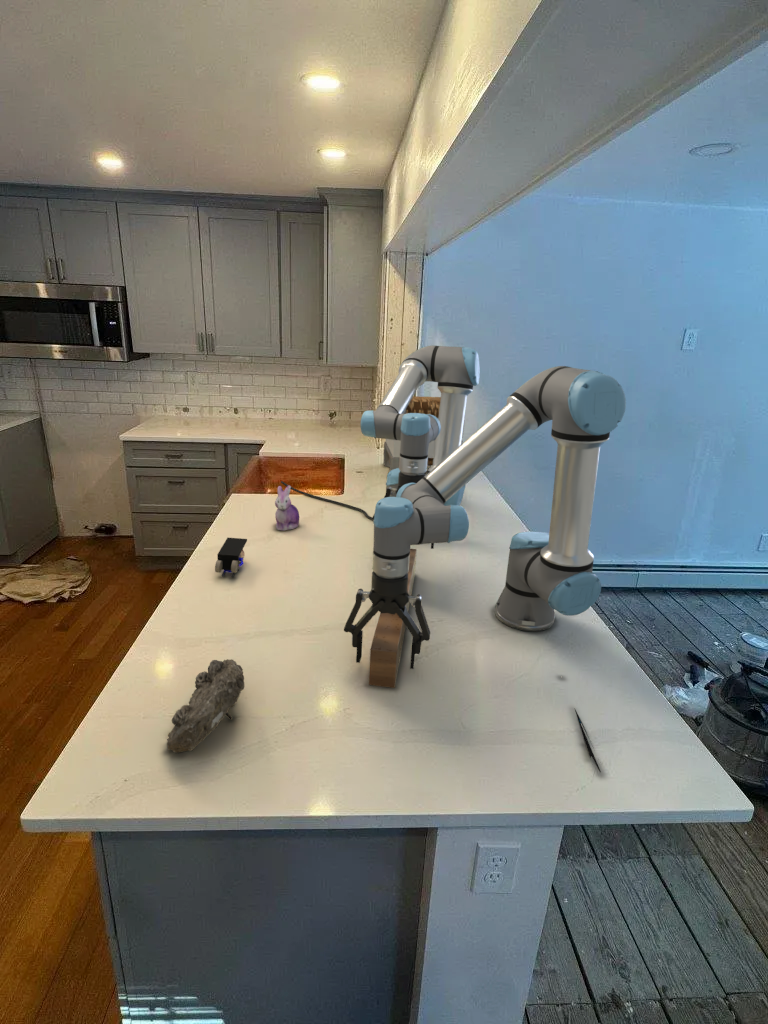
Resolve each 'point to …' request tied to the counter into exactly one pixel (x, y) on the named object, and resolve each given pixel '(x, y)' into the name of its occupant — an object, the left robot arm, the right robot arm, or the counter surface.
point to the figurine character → (230, 556)
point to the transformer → (393, 446)
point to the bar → (389, 640)
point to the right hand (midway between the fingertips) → (385, 662)
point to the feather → (587, 741)
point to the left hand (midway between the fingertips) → (408, 544)
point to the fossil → (206, 705)
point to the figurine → (285, 511)
